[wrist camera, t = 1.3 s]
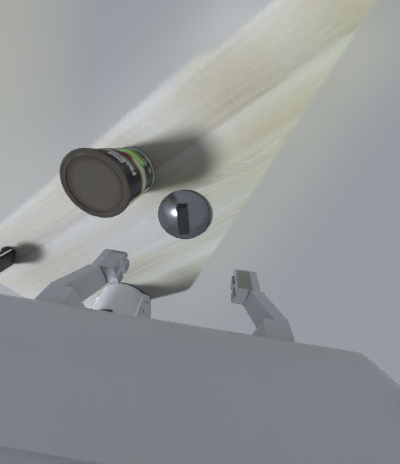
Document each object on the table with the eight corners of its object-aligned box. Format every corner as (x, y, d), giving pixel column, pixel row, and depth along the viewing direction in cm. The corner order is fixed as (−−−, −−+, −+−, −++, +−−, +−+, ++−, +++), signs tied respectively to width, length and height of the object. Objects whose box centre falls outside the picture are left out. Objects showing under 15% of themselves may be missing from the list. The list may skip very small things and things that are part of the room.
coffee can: (119, 135, 33) (70, 130, 21) (162, 167, 36) (141, 179, 24) (101, 177, 37) (50, 193, 25) (141, 203, 40) (113, 229, 28)
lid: (209, 236, 45) (210, 244, 41) (163, 237, 45) (159, 245, 42) (209, 188, 39) (209, 193, 35) (155, 191, 39) (150, 195, 35)
